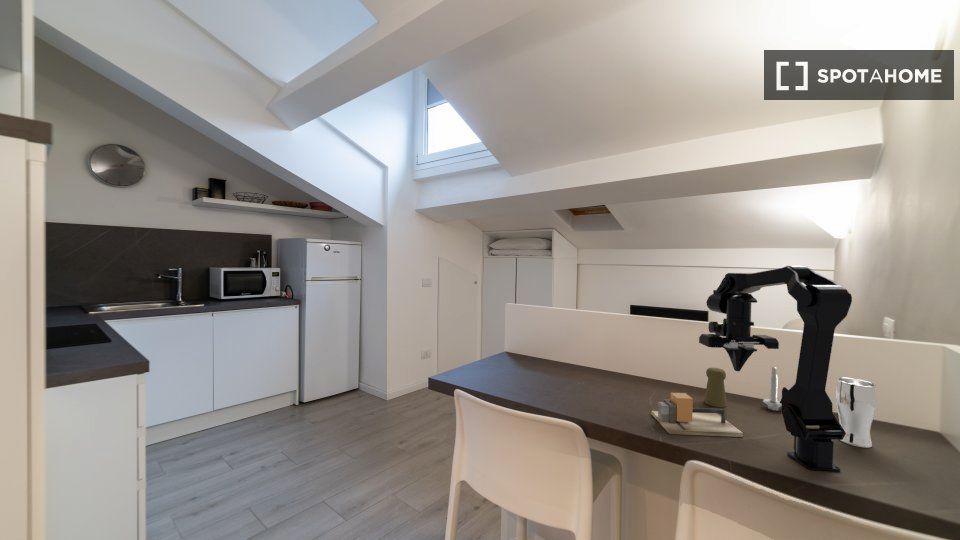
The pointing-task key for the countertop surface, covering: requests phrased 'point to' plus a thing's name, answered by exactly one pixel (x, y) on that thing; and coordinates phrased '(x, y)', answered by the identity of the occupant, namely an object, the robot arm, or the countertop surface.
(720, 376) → the olive green shaker
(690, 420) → the orange block
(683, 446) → the countertop surface
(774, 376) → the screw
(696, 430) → the board
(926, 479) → the countertop surface
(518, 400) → the countertop surface
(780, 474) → the countertop surface
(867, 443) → the silver metal tumbler
